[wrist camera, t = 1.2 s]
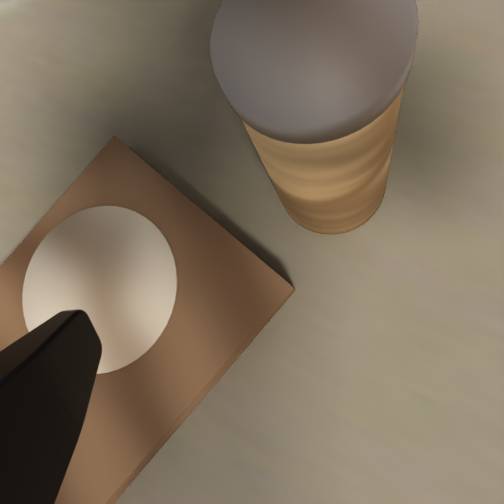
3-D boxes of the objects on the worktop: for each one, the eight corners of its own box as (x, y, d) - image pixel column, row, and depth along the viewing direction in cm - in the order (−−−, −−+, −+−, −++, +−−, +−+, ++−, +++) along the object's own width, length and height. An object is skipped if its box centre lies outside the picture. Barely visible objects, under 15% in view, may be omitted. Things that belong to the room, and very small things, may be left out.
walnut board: (68, 555, 21) (44, 572, 19) (-67, 373, 25) (-97, 374, 23) (295, 289, 21) (290, 284, 20) (128, 148, 25) (112, 133, 23)
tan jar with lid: (339, 258, 21) (322, 166, 11) (256, 193, 23) (171, 57, 12) (411, 173, 21) (465, -2, 11) (324, 114, 23) (297, -88, 12)
